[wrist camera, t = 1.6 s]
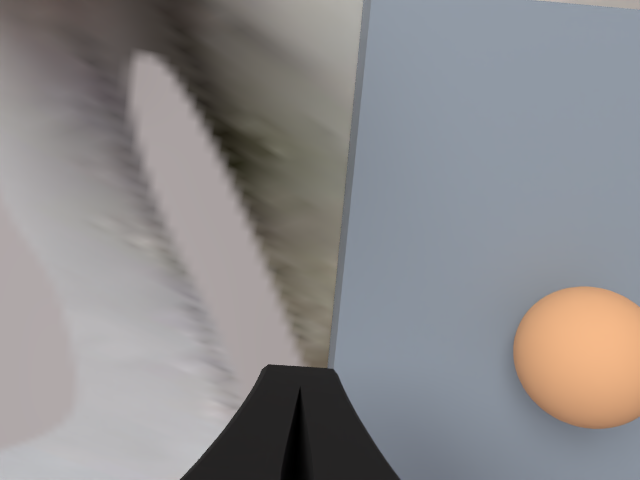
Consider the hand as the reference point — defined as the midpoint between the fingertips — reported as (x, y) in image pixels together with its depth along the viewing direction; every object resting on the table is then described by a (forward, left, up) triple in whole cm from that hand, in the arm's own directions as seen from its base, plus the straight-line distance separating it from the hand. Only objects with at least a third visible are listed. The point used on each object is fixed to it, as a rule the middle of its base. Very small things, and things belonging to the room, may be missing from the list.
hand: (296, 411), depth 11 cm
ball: (0, -7, -5) cm, 8 cm away
